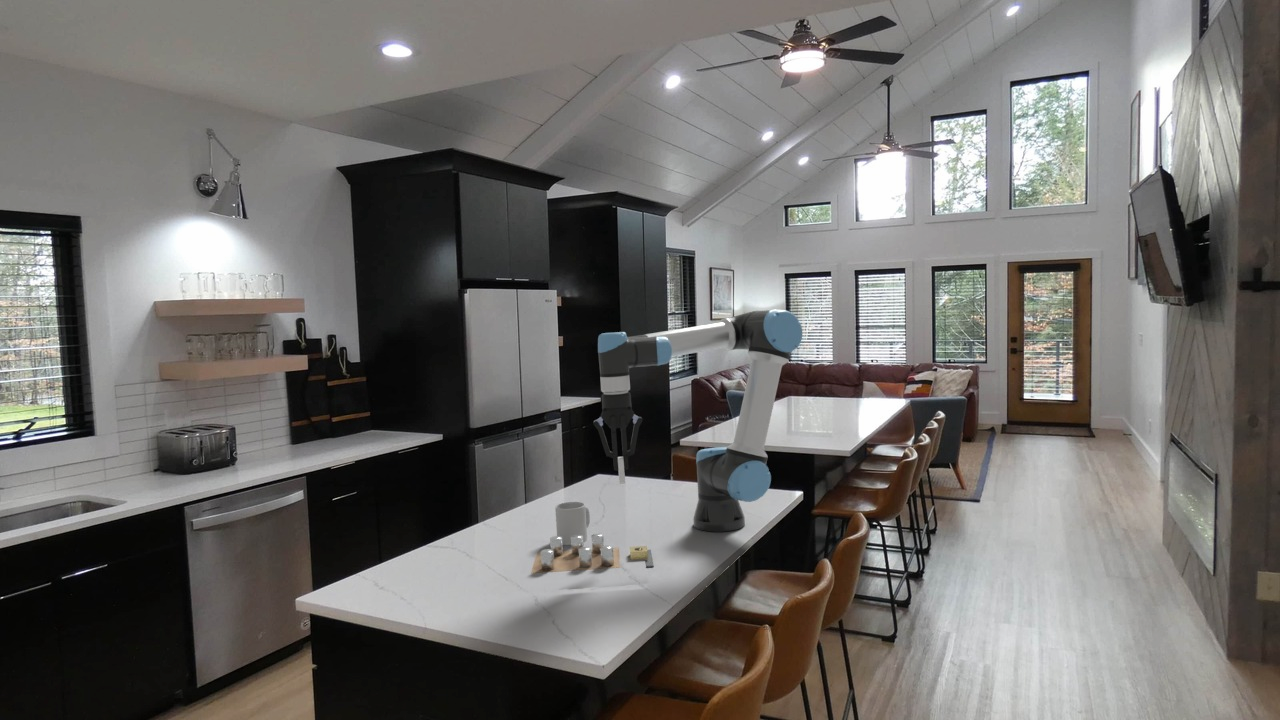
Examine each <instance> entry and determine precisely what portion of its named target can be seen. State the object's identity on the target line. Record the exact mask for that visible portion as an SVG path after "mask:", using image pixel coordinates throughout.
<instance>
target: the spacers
mask: <svg viewBox="0 0 1280 720" xmlns="http://www.w3.org/2000/svg"><path fill="white" fill-rule="evenodd" d="M549 544H550V548H547V549H545V548H544V549H542V550H540V553H541V567H542V570H543V571H550V570H553V569H554V556H561V555H563V551H564V548H563V546H564V545H563V544H562V537H561V536H557V535H554V536H551V537H550V538H549ZM570 546H571V549H570V550H571V551H572V554H573V555H579V566H580V568H590V567H592V553H594V554H600V553H601V566H603V567H611V566H613V565H614V554H613V548H614V546H613V545H608V544H606V545H605V538H604V534H603V533H593V534H591V546H584V543H583V536H582V535H573V536H571V545H570ZM591 549H592V553H591Z"/></svg>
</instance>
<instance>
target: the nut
mask: <svg viewBox="0 0 1280 720" xmlns="http://www.w3.org/2000/svg"><path fill="white" fill-rule="evenodd" d="M647 550H648V547H647V545H644V546H643V545H642V546H639V545H638V546H630V547H629V552H630V555H629V556H630V560H631V561H632V560H636V561H637V560H644V562H645V561H648V551H647Z"/></svg>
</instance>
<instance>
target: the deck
mask: <svg viewBox="0 0 1280 720" xmlns="http://www.w3.org/2000/svg"><path fill="white" fill-rule="evenodd" d="M591 553H592V548H591ZM613 554H614V565H613V566H611V567H603V566H601V553H600V554H594V553H592V567H590V568H580V566H579V555H573V554H572V550H563V555H561V556H554V569H553V570H550V571H543V570H542V567H541V552H537V553H536V555H535V559H534V562H533V566H532V569H531V571H530V574H543V573H557V572H570V571H571V572H573V571H588V570H602V569H616V568H619V569H620V568H621V567H620V566H621V565H620V547H613Z"/></svg>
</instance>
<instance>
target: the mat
mask: <svg viewBox="0 0 1280 720" xmlns="http://www.w3.org/2000/svg"><path fill="white" fill-rule="evenodd" d="M647 551H648V561H645V560H644V562H645V568H654V566H655V565H654V561H653V559H654V558H653V554H652V550H651V549H647Z"/></svg>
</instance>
